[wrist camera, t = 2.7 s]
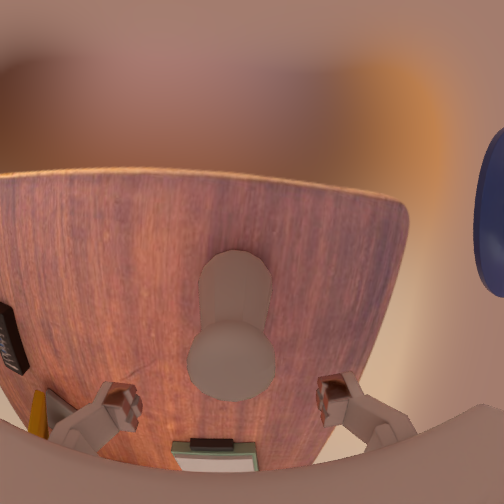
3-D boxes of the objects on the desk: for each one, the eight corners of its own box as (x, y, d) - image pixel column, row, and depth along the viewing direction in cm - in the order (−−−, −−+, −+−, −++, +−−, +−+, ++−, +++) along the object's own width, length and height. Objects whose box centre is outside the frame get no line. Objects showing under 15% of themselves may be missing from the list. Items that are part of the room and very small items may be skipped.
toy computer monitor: (45, 375, 28) (-3, 447, 13) (89, 403, 29) (50, 485, 14) (49, 428, 33) (21, 482, 18) (82, 448, 34) (59, 506, 19)
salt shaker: (255, 312, 25) (264, 427, 12) (195, 292, 24) (159, 401, 12) (279, 255, 23) (316, 349, 11) (215, 232, 23) (183, 311, 10)
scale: (254, 438, 31) (255, 453, 29) (259, 473, 35) (260, 486, 32) (170, 436, 31) (167, 451, 28) (191, 473, 35) (189, 485, 32)
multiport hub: (12, 307, 25) (2, 315, 22) (30, 368, 28) (23, 377, 25) (-6, 299, 24) (-15, 306, 22) (12, 358, 27) (5, 366, 25)
